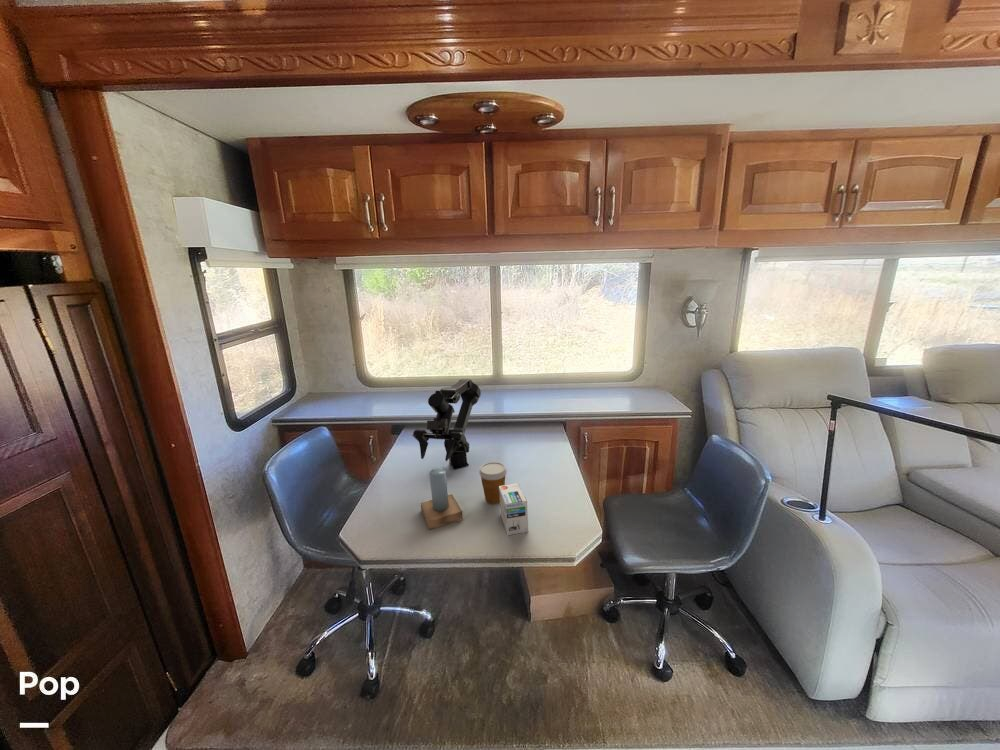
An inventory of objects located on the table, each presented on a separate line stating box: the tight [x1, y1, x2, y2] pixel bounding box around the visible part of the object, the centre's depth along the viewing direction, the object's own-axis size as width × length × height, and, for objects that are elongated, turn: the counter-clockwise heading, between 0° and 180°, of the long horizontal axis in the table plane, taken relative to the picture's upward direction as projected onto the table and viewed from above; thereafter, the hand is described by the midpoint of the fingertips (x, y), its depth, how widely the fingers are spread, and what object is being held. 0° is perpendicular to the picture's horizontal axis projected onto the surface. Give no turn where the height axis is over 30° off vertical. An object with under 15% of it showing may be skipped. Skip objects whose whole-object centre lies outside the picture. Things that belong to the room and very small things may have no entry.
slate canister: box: [429, 467, 449, 512], centre depth 120 cm, size 5×5×12 cm
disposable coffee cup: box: [478, 461, 508, 505], centre depth 128 cm, size 10×10×12 cm
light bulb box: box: [499, 482, 529, 536], centre depth 115 cm, size 11×7×11 cm, turn 12°
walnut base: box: [420, 493, 464, 530], centre depth 122 cm, size 11×11×3 cm
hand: (434, 459), depth 131 cm, fingers open, 9 cm apart
